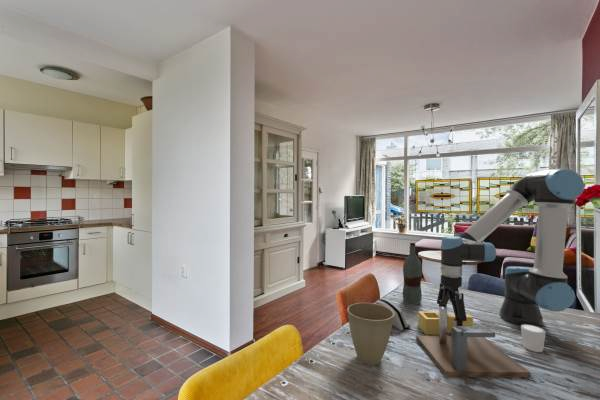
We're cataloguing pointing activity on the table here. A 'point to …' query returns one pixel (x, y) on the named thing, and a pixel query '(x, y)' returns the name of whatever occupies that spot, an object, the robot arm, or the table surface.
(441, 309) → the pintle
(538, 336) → the white cylinder
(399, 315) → the white d-shaped block
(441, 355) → the board
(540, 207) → the robot arm
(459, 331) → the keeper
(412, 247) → the bottle
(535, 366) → the table surface
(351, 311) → the plant pot
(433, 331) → the link
